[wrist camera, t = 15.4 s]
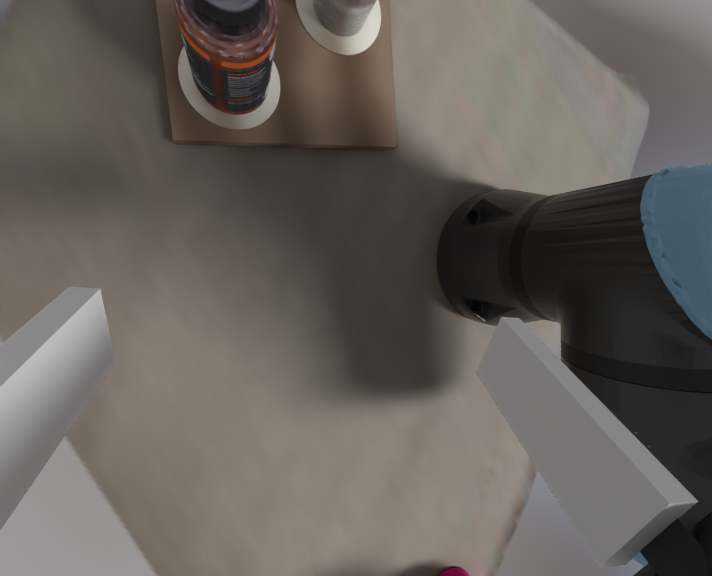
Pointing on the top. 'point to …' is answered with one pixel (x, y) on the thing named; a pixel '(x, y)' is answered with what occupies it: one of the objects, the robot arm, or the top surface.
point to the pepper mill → (454, 572)
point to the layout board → (295, 86)
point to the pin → (343, 15)
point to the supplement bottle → (229, 50)
